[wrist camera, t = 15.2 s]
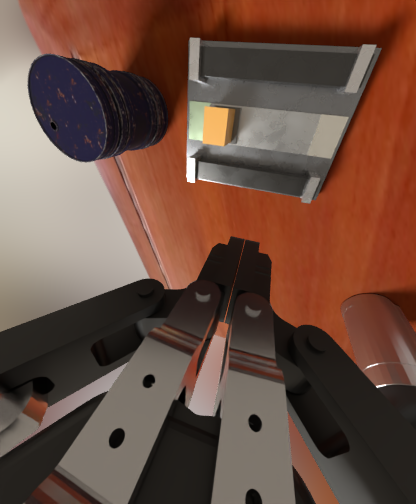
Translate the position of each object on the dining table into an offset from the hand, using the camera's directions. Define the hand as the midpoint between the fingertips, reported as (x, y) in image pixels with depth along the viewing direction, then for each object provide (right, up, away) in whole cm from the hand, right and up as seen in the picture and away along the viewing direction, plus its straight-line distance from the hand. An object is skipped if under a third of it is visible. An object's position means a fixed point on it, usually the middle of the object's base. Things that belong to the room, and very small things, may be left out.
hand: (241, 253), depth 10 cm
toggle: (+1, +19, +18) cm, 26 cm away
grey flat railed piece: (+6, +19, +19) cm, 27 cm away
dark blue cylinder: (-13, +24, +23) cm, 35 cm away
